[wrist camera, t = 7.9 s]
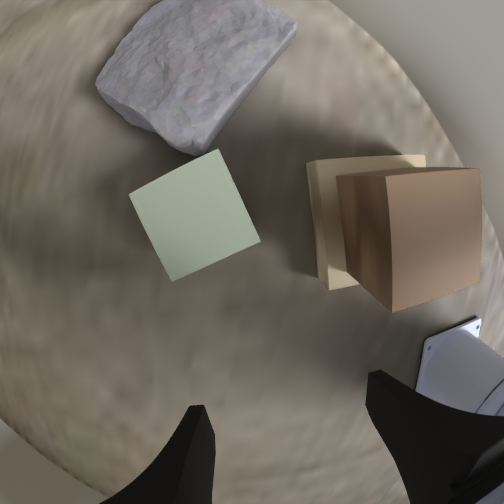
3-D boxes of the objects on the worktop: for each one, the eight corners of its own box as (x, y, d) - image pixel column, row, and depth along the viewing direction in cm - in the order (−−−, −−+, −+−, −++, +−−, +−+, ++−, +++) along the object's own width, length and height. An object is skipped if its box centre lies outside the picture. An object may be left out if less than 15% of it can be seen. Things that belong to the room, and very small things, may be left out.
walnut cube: (422, 254, 18) (479, 282, 12) (346, 272, 18) (392, 312, 12) (416, 167, 16) (479, 168, 10) (335, 175, 16) (385, 176, 10)
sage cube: (253, 226, 19) (260, 241, 14) (186, 258, 19) (171, 281, 15) (222, 157, 18) (218, 148, 13) (154, 191, 18) (128, 194, 13)
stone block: (107, 112, 18) (209, 172, 18) (72, 91, 14) (187, 155, 13) (197, 4, 17) (304, 44, 17) (182, -31, 12) (309, 4, 12)
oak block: (408, 257, 21) (429, 268, 18) (316, 275, 21) (329, 290, 18) (402, 156, 19) (424, 154, 16) (303, 163, 19) (316, 160, 16)
